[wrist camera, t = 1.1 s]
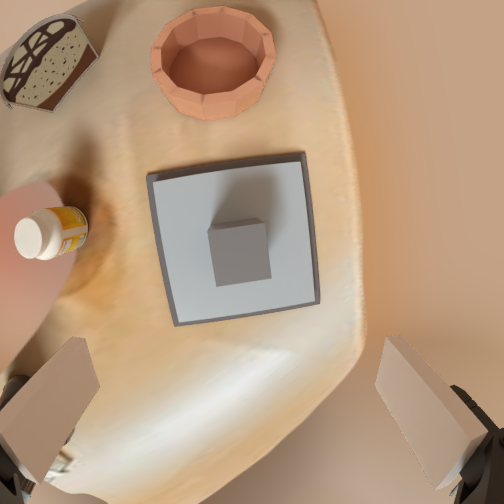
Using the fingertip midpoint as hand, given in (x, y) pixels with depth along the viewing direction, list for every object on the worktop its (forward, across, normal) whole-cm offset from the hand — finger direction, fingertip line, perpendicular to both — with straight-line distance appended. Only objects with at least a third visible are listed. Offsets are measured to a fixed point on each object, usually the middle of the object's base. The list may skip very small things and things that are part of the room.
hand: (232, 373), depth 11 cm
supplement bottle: (+21, +21, -4) cm, 30 cm away
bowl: (+23, +3, -21) cm, 31 cm away
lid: (+22, 0, -1) cm, 22 cm away
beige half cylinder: (+22, +23, -25) cm, 40 cm away
